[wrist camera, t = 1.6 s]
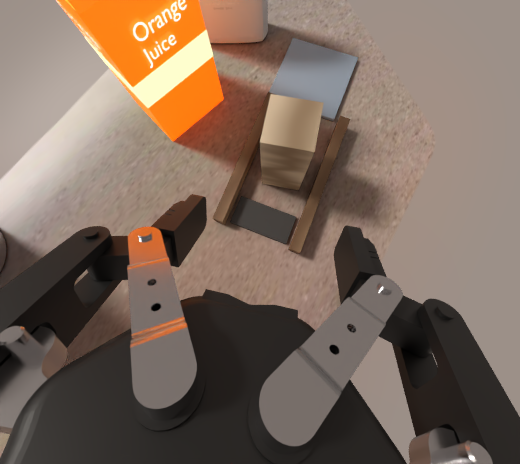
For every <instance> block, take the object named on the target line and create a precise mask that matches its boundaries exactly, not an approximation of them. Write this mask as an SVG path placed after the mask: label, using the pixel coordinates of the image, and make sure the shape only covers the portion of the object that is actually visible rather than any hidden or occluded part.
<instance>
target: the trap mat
mask: <svg viewBox="0 0 520 464" xmlns="http://www.w3.org/2000/svg"><path fill="white" fill-rule="evenodd" d="M295 219H296V217H295V216H292V215H290V214H287V213H284V212H282V211H279V210H277V209H274V208H271V207H269V206H266V205H263V204H261V203H258V202H256V201H253V200H250V199H248V198H245V197H242V196H241V198H240V200H239V203H238V205H237V207H236V210H235V212H234V214H233V216H232V219H231V221H230V222H231V223H233V224H236V225H238V226H241V227H243V228H246V229H248V230H251V231H253V232H256V233H258V234H261V235H264V236H266V237H269V238H271V239H274V240H276V241H279V242H281V243H284V244H286V243H287V240H288V238H289V235H290V232H291V230H292V227H293V225H294V222H295Z"/></svg>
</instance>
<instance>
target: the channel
mask: <svg viewBox="0 0 520 464" xmlns="http://www.w3.org/2000/svg"><path fill="white" fill-rule="evenodd" d="M271 94H273V93H270V92H268V94H267V96H266V99H265V101H264V103H263V105H262V108H261V110H260V112H259V114H258V117H257V119H256V121H255V124H254V126H253V128H252V130H251V133H250V135H249V137H248V139H247V142H246V144H245V146H244V148H243V151H242V153H241V155H240V157H239V160H238V162H237V164H236V166H235V169H234V171H233V173H232V175H231V178H230V180H229V182H228V185H227V187H226V189H225V191H224V194H223V196H222V198H221V200H220V203H219V205H218V207H217V209H216V212H215V214H214V216H213V219H214V220H215V221H217V222H219V223H222V224H224V225H225V224H226V221H227V219H228V217H229V215H230V212H231V210H232V208H233V205H234V203H235V201H236V198H237V196H238V194H239V191H240V189H241V187H242V184H243V182H244V180H245V178H246V175H247V173H248V171H249V168H250V166H251V164H252V161H253V159H254V157H255V154H256V152H257V150H258V147H259V145H260V139H261V135H262V130H263V126H264V121H265V117H266V113H267V108H268V104H269V99H270V95H271ZM274 95H276V94H274ZM349 121H350V119H348V118H345V117H342V116H340V118H339V120H338V122H337V124H336V127H335V129H334V132H333V135H332V137H331V140H330V142H329V145H328V148H327V150H326V153H325V155H324V158H323V161H322V163H321V166H320V168H319V171H318V174H317V176H316V179H315V181H314V184H313V187H312V189H311V192H310V195H309V197H308V200H307V202H306V205H305V208H304V210H303V213H302V215H301V218H300V221H299V223H298V226H297V228H296V231H295V234H294V236H293V239H292V241H291V244H290V247H289V249H288V250H290V251H292V252H295V253H297V254H299V253H300V252H301V249H302V247H303V244H304V241H305V239H306V236H307V233H308V231H309V228H310V225H311V223H312V220H313V217H314V215H315V212H316V209H317V207H318V204H319V201H320V199H321V196H322V193H323V191H324V188H325V185H326V183H327V180H328V177H329V175H330V172H331V169H332V167H333V164H334V161H335V159H336V156H337V153H338V151H339V148H340V145H341V143H342V140H343V137H344V135H345V132H346V129H347V127H348V124H349Z"/></svg>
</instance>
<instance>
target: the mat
mask: <svg viewBox="0 0 520 464" xmlns="http://www.w3.org/2000/svg"><path fill="white" fill-rule="evenodd" d="M357 59H358V57H355V56H351V55H348V54H345V53H342V52H338V51H335V50H332V49H329V48H325V47H322V46H319V45H315V44H312V43H309V42H306V41H302V40H299V39H296V38H293V39H292V41H291V44H290V46H289V48H288V50H287V53H286V55H285V57H284V59H283V62H282V64H281V66H280V69H279V71H278V73H277V75H276V78H275V80H274V82H273V84H272V87H271V89H270V91H269V92H270V93H273V94H276V95H280V96H286V97H292V98H298V99H305V100H311V101H317V102H323V103H324V104H323V109H322V114H321V118H324V119H327V120H330V121H334V119H335V116H336V113H337V111H338V108H339V106H340V103H341V100H342V98H343V95H344V93H345V90H346V88H347V85H348V82H349V80H350V77H351V75H352V72H353V69H354V67H355V64H356V62H357Z"/></svg>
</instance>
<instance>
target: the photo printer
mask: <svg viewBox="0 0 520 464" xmlns="http://www.w3.org/2000/svg"><path fill="white" fill-rule="evenodd" d="M199 4H200V8H201V12H202V16H203V20H204V24H205V28H206V30H207V33H208V37H209V41H210V43H249V42H259V41H263V39H264V38H265V37H266V35H267V32H268V0H199Z"/></svg>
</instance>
